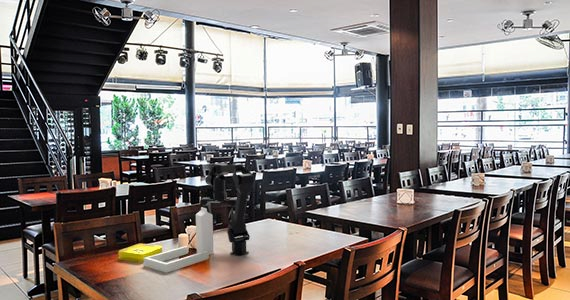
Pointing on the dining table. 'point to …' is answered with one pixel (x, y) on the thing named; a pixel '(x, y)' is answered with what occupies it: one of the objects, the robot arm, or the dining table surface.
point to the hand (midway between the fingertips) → (219, 218)
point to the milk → (204, 231)
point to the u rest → (157, 259)
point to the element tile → (139, 252)
